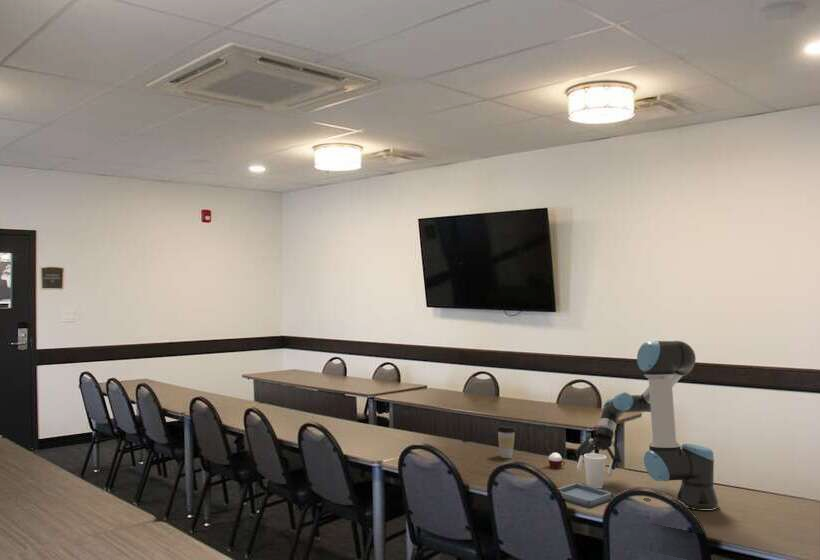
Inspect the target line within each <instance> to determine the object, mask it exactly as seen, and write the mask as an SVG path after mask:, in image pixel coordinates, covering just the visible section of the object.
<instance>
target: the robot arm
mask: <svg viewBox="0 0 820 560" xmlns="http://www.w3.org/2000/svg"><path fill="white" fill-rule="evenodd" d="M696 358H697V357H696V353H695V351H694V349H693V348H692V346H690V345H689V344H688V343H687V342H684V341H682V340H673V341H672V340H665V341H664V340H653V341H652V340H651V341H646V342H643V343H642V344H641V345H640V347H639V349H638V351H637V356H636V363H637V366H638V368H639V370H641V371H642V372H643V374H644V375H643V376H644V377H645V378H646V379H647V380H648V386H647V388H646V389H645V390H644V391H643V392H642V394H629V393H628V392H625V391H622V392H619V393H617V394H616V395H614V397H613V398H610V399H607V400H606V401H605V403H604V405H603V408H602V411H601V415H600V419H599V421H598V425H597V428H596V431H595V434H594V437H593V438H591V437H590V436H587V437H586V439H585V440H584V442H582V443H581V445H580V446H578V448H577V449H576V450H575V451H574V453H575V455H576V456H577V458H576V462H577V466H576V470H577V471H578V472H581V469H582V466H583V462H584V454H588V453H591V452H592V451H595V450H598V451H599V450H601V451H606V452H607V453H608V454H609V456H610V458H611V459H610V462H609V466H608V469H607V476H608V477H609V478H612V474H613V470H615V469H616V466H617V464H618V463H619V464H621V463H623V462H622V461H623V460H622V457H621V453H620V450H619V442H618V440H614V441H613V439H614V436H615V435H614V434H615V433H616V432H615V431H616V429H617V425H618V421H619V418H621V416H623V415H624V414H625V413H629V414H630V413H650V416H651V418H650V419H651V431H652V441H651V442H650V443H649V444H648V445H649V447H648V448H649V450H647V451H645V452H644V455H643V464H644V468H645V470H646V473H648V475H649V477H650V478H652V480H654V481H656V482H669V481H681V483H680V487H679V490H678V493H677V495H676V500H677V499H678V500H680V501H681V502H683V503H684V504H685V505H686V506H688V507H689V508H691V509H690V510H692V508H695V509H713V508H716V507H718V508H719V500H718V497H717V493H716V491H715V488H714V487H715V486H714V481H715V479H714V478H715V477H714V476H715V475H714V473H715V472H714V465H715V464H714V463H715V459H714V452H713V450H712V449H711V448H708V447H705V446H702V445H697V444H692V443H683V444H682V445H680V443H679V442H677V435H676V422H675V409H674V408H675V407H674V396H673V395H674V394H673V387H675V385H676V384H677V383H678V382H679V380H680V379H682V377H684V376H687V375H688V374H689V373H691V372H692V370H693V368H694V367H695V364H696V360H697V359H696ZM611 446H613V447H614V450H615V455H616V457H615V455H614V453H613V452H612V449H611V448H610V447H611Z"/></svg>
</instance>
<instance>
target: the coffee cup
mask: <svg viewBox="0 0 820 560" xmlns="http://www.w3.org/2000/svg"><path fill="white" fill-rule="evenodd" d="M496 431H497V434H498V435H497V439H498V447H499V448H498V449H499V456H500V458H503V459H511V458H512V457H513V453H514V446H515V433H516V432H517V429H516V428H515V426H514V425H510V424H509V425H508V424H503V425H502V424H501V425H498V427H497V428H496Z"/></svg>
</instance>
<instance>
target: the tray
mask: <svg viewBox="0 0 820 560" xmlns="http://www.w3.org/2000/svg"><path fill="white" fill-rule="evenodd" d="M557 489H559V490H560V492H561V493H562V495H563V497H564V498H565V500H564V501H566V500H567V501H566V502H570V503H573V504H576V505H580V506H583V507H587V508H592V507H595V506H598V505H601V504H604V503H606V502H609V501H612V500H611V498H613V499H614V493H613V492H610V491H607V490H604V489H601V488H598V489H597V488H593V487H590V486H587V484H583V483H579V482H574V483H570V484H568V485H564V486H562V487H559V488H557Z"/></svg>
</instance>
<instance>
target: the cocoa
mask: <svg viewBox="0 0 820 560" xmlns="http://www.w3.org/2000/svg"><path fill="white" fill-rule="evenodd" d="M544 443H545V446H546V449H547V452H548V454H549V455H548V464H549V466H550V468H552V467H553V469H559V468H562V467H564V465H565V463H566V462H565V460H562V459H563V458H562V456H561V454H560V453H559V452H552V453H551V449H550V447H549V443H548V440H546V439H545V440H544ZM562 463H563V464H562Z"/></svg>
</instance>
